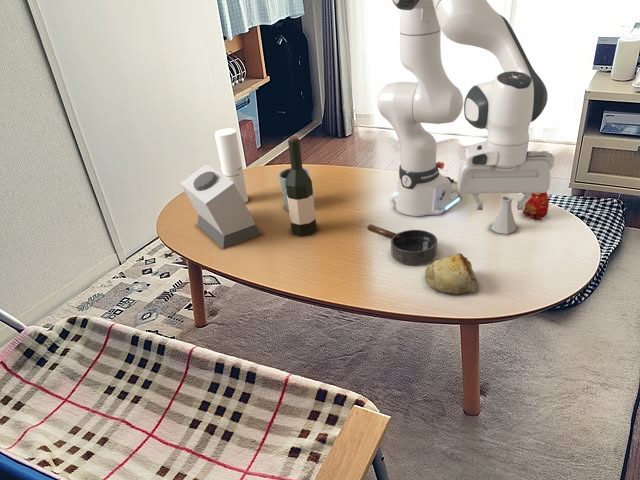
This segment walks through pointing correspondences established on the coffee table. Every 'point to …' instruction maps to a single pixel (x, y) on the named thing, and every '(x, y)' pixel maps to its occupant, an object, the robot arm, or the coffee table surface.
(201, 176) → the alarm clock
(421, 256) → the pan
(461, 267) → the pastry
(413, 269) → the coffee table surface
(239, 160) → the cylindrical container
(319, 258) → the coffee table surface
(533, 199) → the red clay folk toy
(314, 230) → the wine bottle
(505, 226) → the flask
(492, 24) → the robot arm
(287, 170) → the drinking glass
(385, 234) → the pan handle
